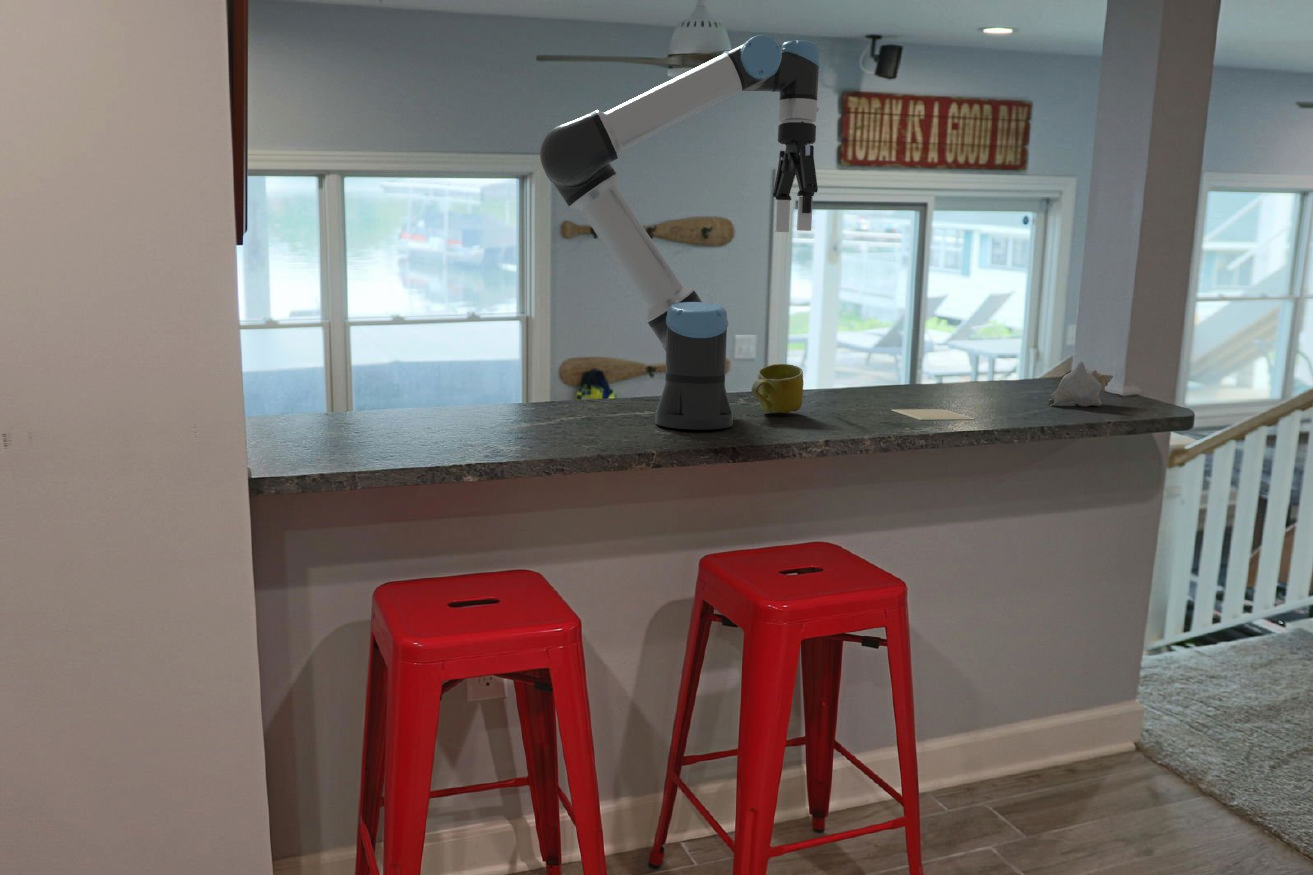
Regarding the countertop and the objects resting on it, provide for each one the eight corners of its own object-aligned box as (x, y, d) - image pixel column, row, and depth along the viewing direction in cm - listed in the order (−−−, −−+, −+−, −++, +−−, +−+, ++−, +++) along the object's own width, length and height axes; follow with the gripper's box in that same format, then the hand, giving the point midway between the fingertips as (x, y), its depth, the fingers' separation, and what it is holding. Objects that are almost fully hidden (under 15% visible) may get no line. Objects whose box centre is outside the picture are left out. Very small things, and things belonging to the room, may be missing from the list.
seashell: (1062, 426, 253) (1101, 373, 253) (1092, 435, 243) (1132, 380, 243) (1031, 397, 248) (1070, 344, 249) (1060, 405, 239) (1100, 349, 239)
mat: (920, 420, 221) (920, 418, 221) (891, 410, 234) (891, 409, 234) (975, 419, 223) (975, 418, 223) (943, 410, 237) (943, 409, 237)
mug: (784, 387, 235) (787, 349, 228) (812, 413, 228) (816, 375, 222) (735, 405, 231) (737, 367, 224) (762, 433, 224) (764, 394, 217)
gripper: (838, 116, 210) (832, 230, 213) (794, 130, 234) (790, 232, 237) (800, 114, 208) (795, 229, 211) (760, 129, 232) (756, 231, 235)
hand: (792, 231), depth 224 cm, fingers open, 13 cm apart
